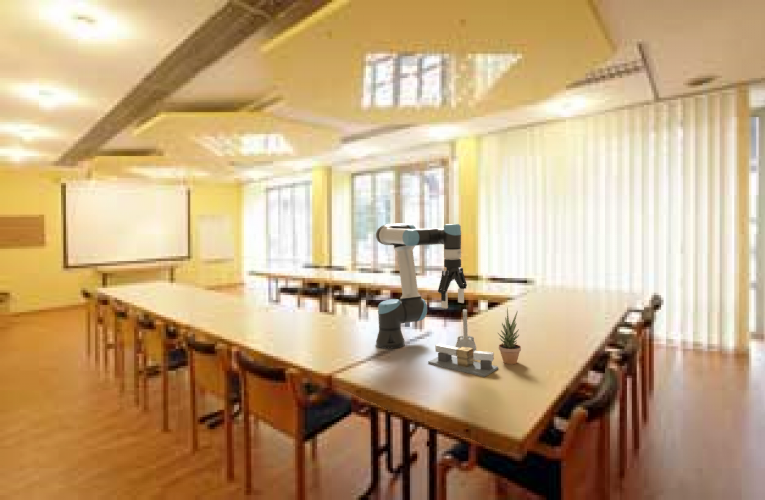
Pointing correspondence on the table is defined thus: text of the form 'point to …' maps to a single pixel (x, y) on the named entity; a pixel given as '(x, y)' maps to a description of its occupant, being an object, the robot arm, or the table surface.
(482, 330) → the table surface
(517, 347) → the potted plant
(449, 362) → the shaft bench
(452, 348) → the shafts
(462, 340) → the engine component
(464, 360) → the tan cardboard block
